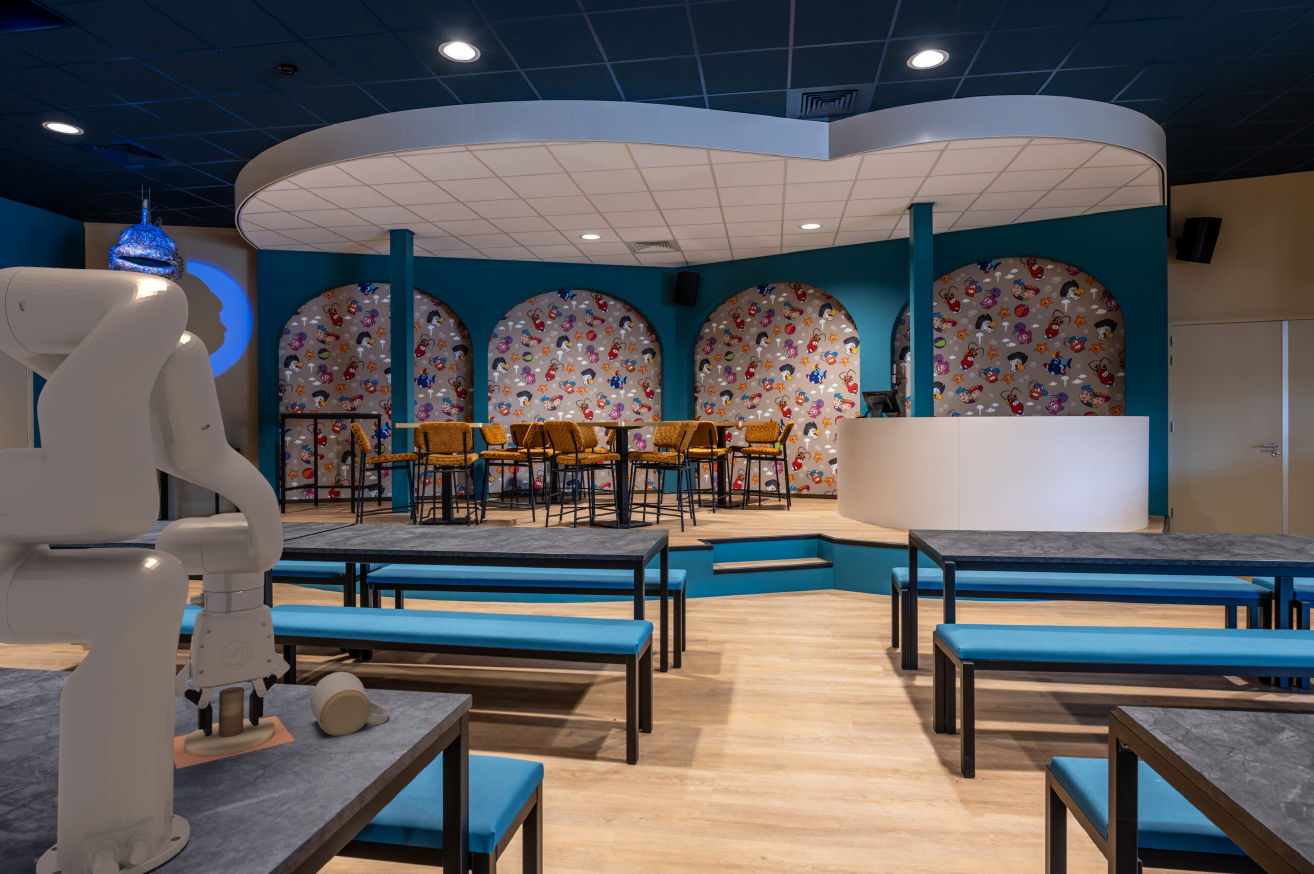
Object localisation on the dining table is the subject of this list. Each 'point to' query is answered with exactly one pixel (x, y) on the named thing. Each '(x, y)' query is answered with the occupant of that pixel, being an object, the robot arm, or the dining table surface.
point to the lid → (229, 729)
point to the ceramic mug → (344, 705)
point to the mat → (186, 759)
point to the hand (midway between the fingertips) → (231, 726)
